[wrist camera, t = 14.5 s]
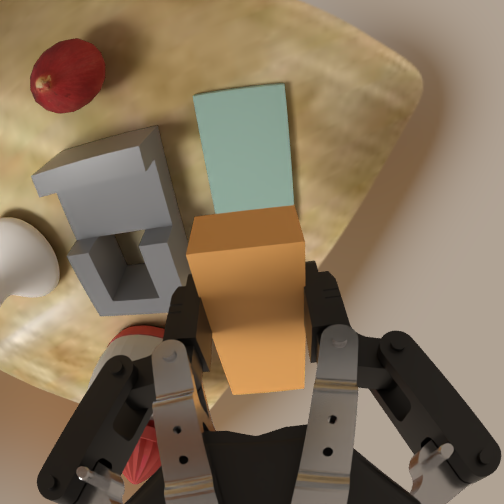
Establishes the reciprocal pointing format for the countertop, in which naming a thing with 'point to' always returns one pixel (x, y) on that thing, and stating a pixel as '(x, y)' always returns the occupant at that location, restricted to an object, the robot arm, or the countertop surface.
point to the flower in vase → (25, 261)
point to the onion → (67, 76)
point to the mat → (246, 147)
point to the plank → (253, 294)
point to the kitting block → (120, 220)
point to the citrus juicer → (146, 451)
